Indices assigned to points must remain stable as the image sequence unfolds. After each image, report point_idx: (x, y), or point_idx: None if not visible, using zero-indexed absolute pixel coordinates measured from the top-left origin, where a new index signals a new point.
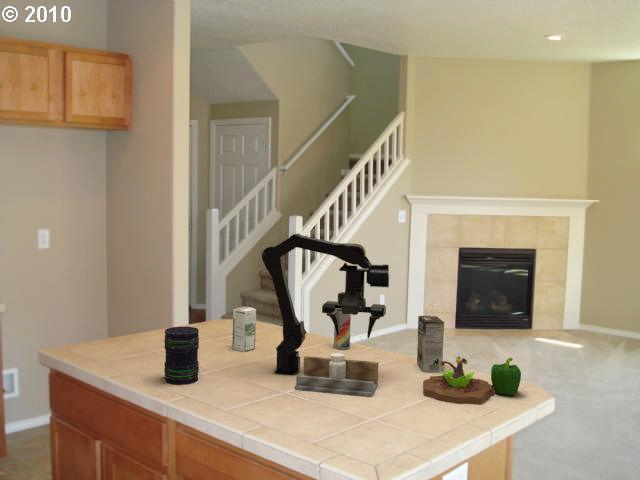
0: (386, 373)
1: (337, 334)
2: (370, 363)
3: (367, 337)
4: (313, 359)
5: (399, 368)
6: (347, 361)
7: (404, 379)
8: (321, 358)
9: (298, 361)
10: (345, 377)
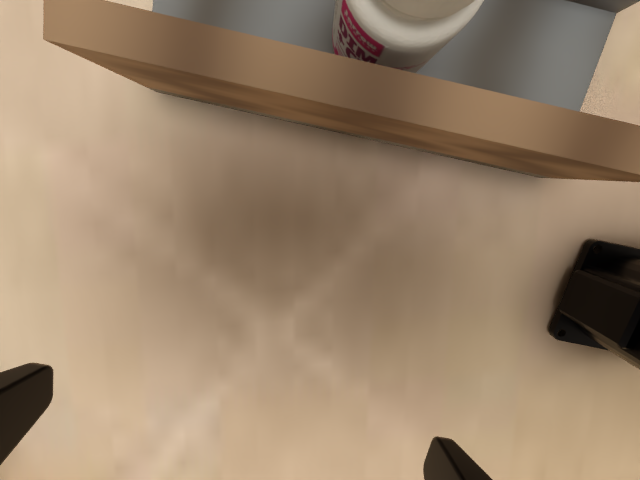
0: (127, 315)
1: (460, 451)
2: (115, 3)
3: (43, 369)
4: (607, 122)
5: (73, 396)
6: (322, 54)
7: (30, 224)
8: (548, 117)
9: (621, 294)
10: (334, 10)
